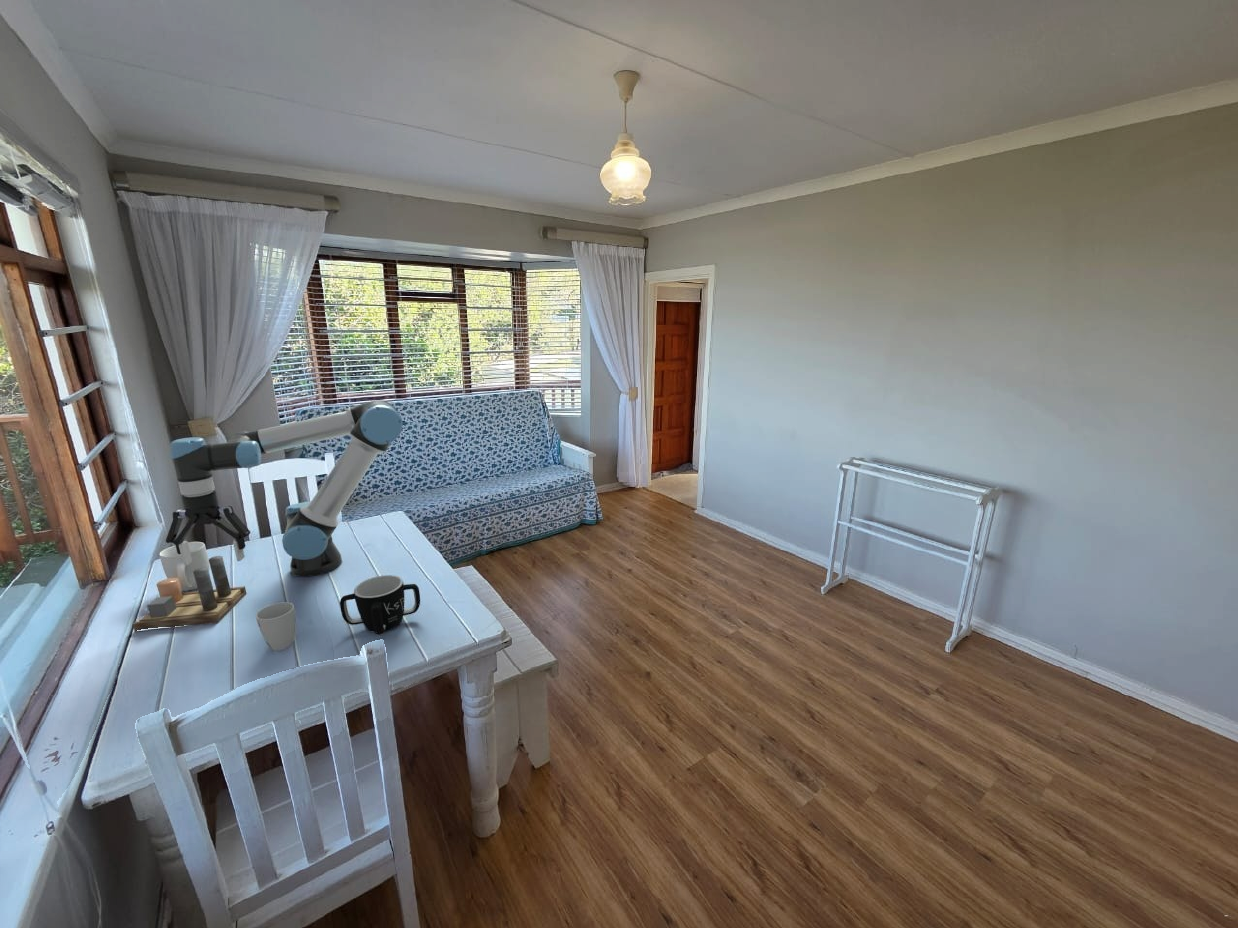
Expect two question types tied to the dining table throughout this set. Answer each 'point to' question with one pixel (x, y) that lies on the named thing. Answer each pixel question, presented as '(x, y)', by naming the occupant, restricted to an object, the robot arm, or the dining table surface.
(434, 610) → the dining table surface
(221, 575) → the strip
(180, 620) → the lane board
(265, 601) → the dining table surface
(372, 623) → the mug
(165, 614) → the rubber block
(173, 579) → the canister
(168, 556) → the mug
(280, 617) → the cup
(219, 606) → the strip
